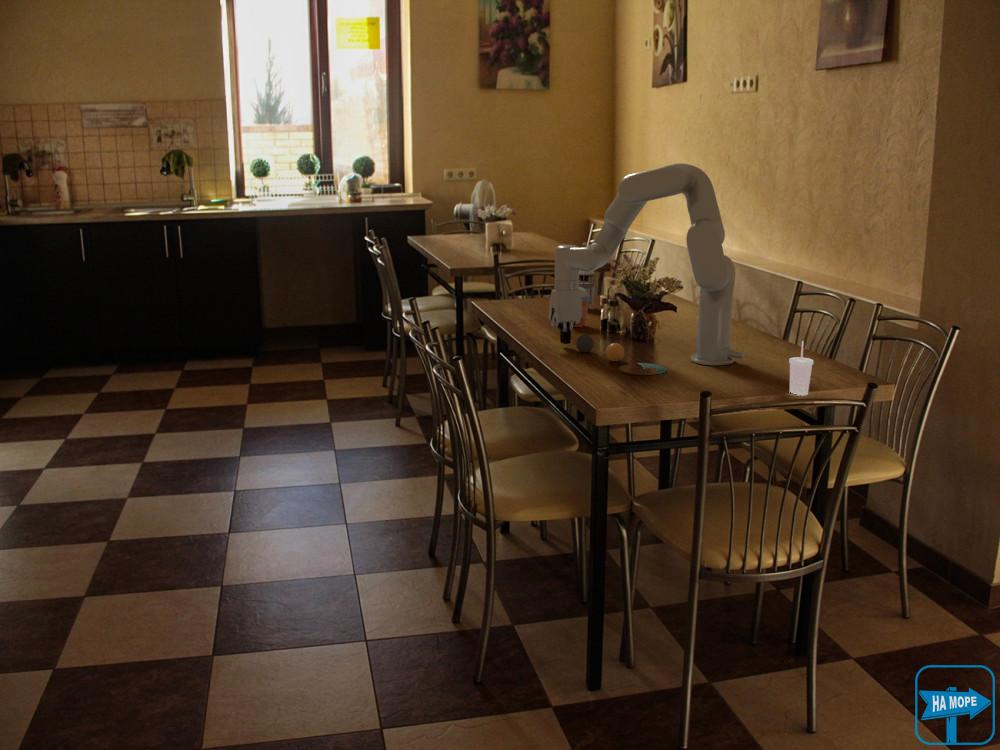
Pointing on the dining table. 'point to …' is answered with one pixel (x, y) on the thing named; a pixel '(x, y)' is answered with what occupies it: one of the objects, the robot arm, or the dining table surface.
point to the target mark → (658, 368)
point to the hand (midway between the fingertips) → (565, 342)
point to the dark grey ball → (585, 343)
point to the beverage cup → (800, 374)
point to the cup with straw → (583, 307)
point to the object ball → (615, 352)
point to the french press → (585, 284)
